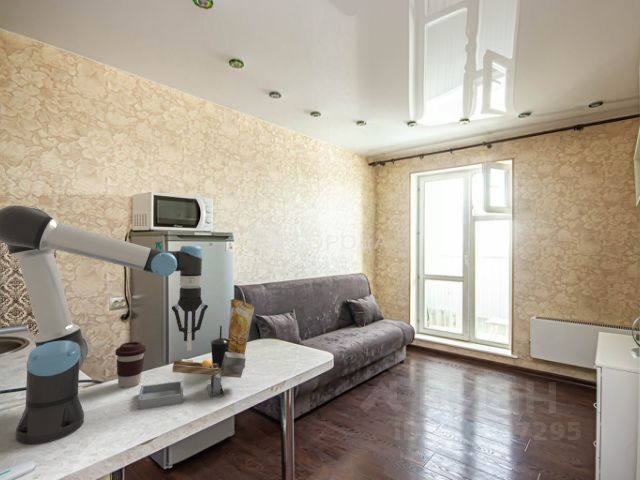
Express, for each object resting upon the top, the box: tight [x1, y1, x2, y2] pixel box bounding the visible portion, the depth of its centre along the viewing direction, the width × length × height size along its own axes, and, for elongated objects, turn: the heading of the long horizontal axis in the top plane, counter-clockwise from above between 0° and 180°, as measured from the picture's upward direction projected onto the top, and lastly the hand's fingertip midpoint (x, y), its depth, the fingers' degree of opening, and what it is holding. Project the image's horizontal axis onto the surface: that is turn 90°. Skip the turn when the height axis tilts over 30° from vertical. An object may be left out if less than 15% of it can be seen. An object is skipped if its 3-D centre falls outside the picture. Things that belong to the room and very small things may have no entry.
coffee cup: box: [115, 341, 147, 388], centre depth 125 cm, size 10×10×15 cm
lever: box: [172, 352, 247, 379], centre depth 124 cm, size 24×11×7 cm, turn 114°
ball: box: [201, 359, 212, 368], centre depth 120 cm, size 3×3×3 cm
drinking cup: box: [210, 325, 230, 368], centre depth 137 cm, size 8×8×20 cm
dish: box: [136, 380, 184, 410], centre depth 115 cm, size 14×12×3 cm
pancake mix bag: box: [227, 298, 256, 370], centre depth 150 cm, size 7×19×28 cm, turn 40°
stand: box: [206, 363, 225, 399], centre depth 122 cm, size 5×10×9 cm, turn 24°
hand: (189, 349), depth 124 cm, fingers closed
